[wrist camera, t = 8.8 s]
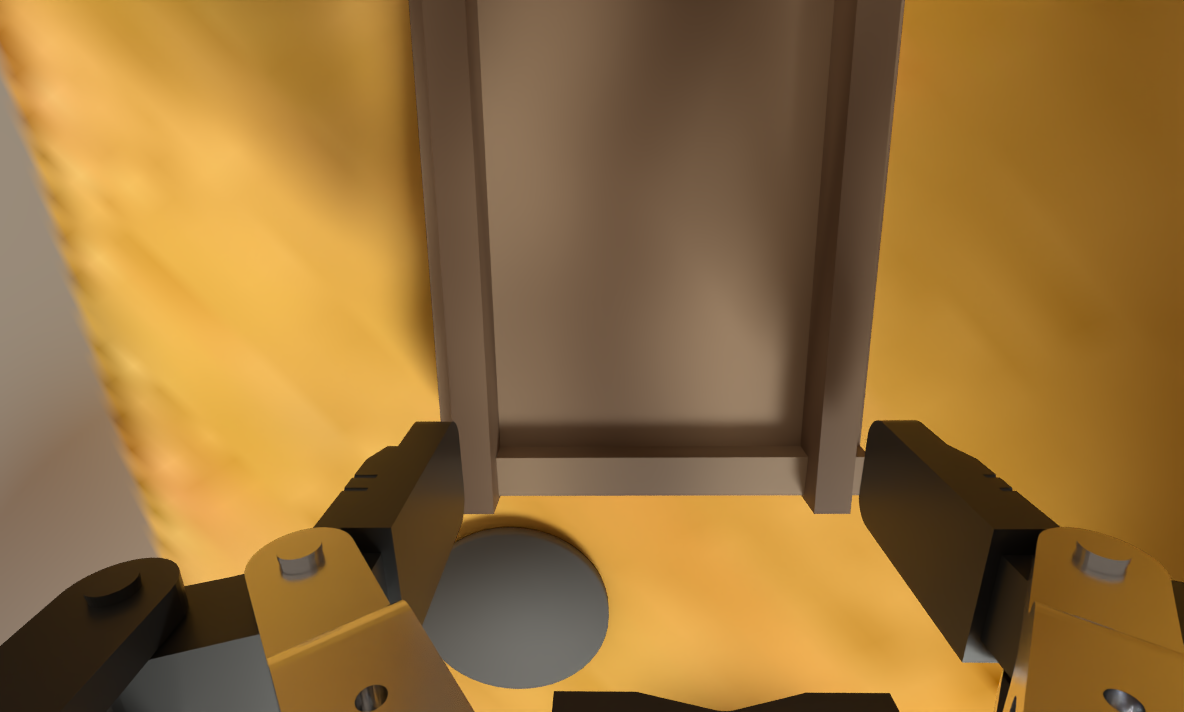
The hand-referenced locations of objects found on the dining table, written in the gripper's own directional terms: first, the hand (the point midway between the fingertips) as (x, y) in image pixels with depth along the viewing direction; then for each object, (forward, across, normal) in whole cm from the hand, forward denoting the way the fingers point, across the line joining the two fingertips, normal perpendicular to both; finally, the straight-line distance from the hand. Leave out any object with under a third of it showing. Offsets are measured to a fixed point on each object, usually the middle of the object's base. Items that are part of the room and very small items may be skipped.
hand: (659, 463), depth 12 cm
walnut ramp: (+5, 0, -4) cm, 6 cm away
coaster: (+5, +4, +8) cm, 10 cm away
